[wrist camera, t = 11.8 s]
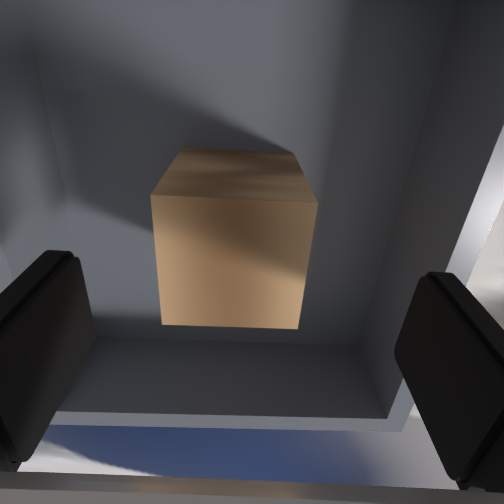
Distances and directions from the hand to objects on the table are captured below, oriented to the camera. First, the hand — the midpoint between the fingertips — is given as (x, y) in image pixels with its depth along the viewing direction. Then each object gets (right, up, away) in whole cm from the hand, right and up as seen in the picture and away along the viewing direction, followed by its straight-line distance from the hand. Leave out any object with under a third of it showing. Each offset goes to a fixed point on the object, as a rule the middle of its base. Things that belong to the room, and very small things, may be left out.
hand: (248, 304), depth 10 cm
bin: (-1, +4, +8) cm, 9 cm away
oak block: (-1, +4, +7) cm, 8 cm away
